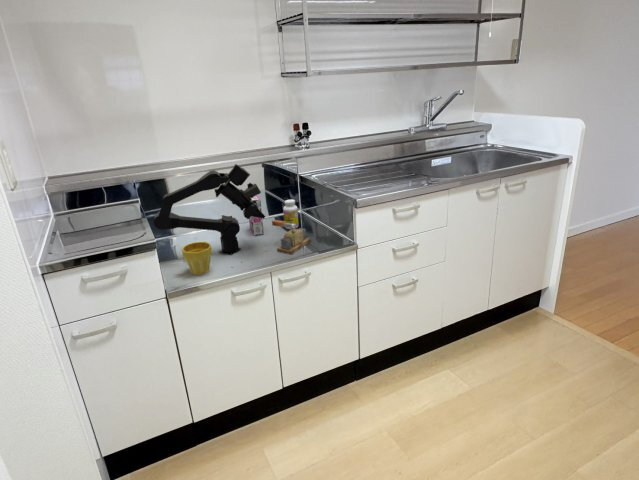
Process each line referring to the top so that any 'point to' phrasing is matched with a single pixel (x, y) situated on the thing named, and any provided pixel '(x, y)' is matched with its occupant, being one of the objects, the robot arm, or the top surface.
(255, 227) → the candy bar box
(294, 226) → the valve lever
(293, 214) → the supplement bottle
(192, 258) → the plant pot
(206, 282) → the top surface
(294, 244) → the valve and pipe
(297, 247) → the walnut mounting plank
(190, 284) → the top surface
